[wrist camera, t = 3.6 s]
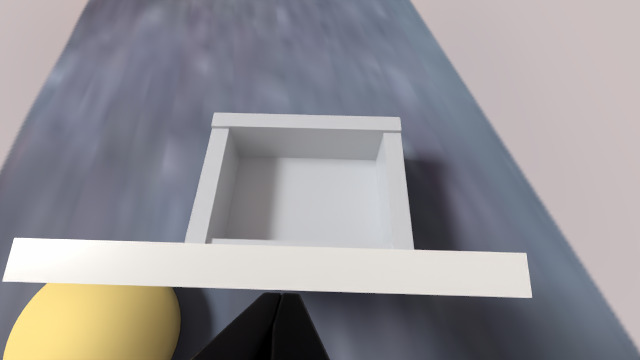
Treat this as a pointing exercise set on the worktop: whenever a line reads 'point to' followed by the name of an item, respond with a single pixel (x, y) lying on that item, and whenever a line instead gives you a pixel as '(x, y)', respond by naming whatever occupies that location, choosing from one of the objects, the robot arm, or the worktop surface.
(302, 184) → the grey frame
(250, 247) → the lid
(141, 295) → the yellow rounded disc
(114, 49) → the worktop surface
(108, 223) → the worktop surface
